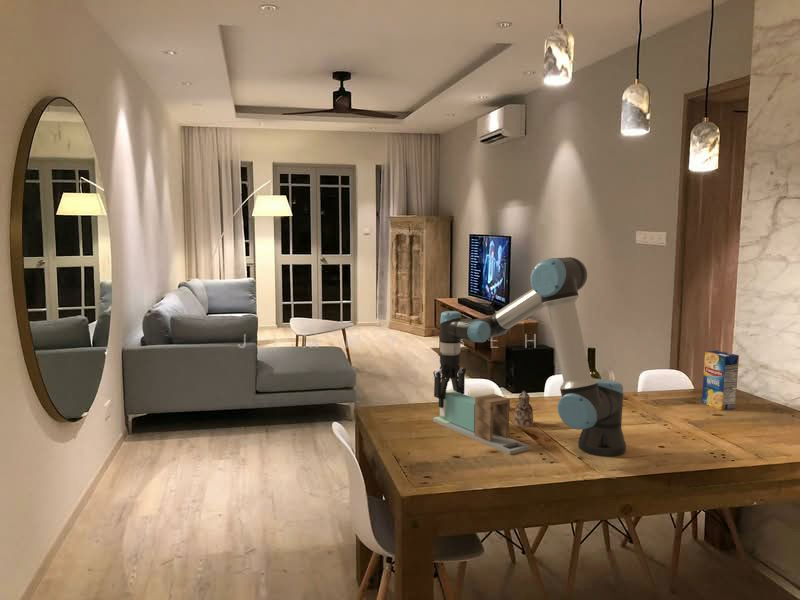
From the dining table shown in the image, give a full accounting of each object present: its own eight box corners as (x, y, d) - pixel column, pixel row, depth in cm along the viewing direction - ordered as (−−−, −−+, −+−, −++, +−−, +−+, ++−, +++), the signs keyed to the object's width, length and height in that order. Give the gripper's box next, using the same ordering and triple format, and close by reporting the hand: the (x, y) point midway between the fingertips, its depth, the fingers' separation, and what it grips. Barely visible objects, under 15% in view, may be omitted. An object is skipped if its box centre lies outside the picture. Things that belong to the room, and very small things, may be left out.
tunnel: (508, 437, 227) (509, 398, 225) (489, 442, 222) (490, 402, 221) (493, 431, 234) (494, 393, 232) (474, 435, 229) (475, 397, 227)
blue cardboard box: (722, 410, 266) (725, 356, 264) (701, 403, 277) (704, 351, 274) (735, 408, 269) (739, 355, 266) (714, 401, 279) (718, 350, 276)
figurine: (512, 425, 245) (513, 393, 243) (514, 420, 251) (515, 389, 250) (531, 427, 243) (532, 395, 241) (533, 421, 249) (534, 390, 248)
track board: (529, 449, 219) (530, 445, 219) (509, 454, 214) (509, 450, 214) (451, 417, 254) (451, 414, 254) (432, 421, 249) (432, 417, 249)
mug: (494, 411, 263) (494, 391, 262) (468, 410, 263) (469, 391, 262) (490, 403, 275) (491, 384, 274) (466, 402, 275) (466, 383, 274)
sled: (484, 429, 235) (485, 401, 233) (473, 431, 232) (474, 403, 231) (450, 415, 251) (450, 389, 250) (439, 417, 249) (440, 391, 247)
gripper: (462, 349, 253) (461, 408, 256) (424, 354, 243) (423, 415, 246) (475, 352, 247) (474, 413, 249) (436, 357, 237) (435, 420, 240)
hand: (449, 414), depth 248 cm, fingers closed on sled, 5 cm apart
